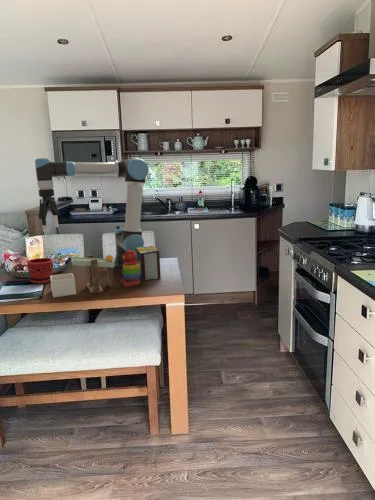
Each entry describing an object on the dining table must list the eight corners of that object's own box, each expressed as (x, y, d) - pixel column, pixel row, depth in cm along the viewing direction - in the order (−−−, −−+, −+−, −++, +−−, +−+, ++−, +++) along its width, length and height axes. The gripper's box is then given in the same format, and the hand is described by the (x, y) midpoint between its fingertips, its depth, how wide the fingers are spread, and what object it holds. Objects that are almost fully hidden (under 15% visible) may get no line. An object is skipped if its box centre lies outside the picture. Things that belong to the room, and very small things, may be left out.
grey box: (73, 288, 193) (72, 273, 191) (76, 294, 183) (74, 278, 181) (51, 291, 189) (50, 275, 187) (52, 297, 179) (51, 281, 178)
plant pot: (47, 285, 199) (44, 263, 196) (24, 284, 201) (21, 262, 199) (59, 278, 211) (57, 257, 209) (37, 277, 214) (35, 257, 211)
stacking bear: (119, 282, 201) (117, 249, 198) (137, 279, 205) (136, 247, 202) (124, 287, 192) (122, 253, 188) (143, 284, 196) (142, 251, 192)
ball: (110, 261, 194) (113, 255, 194) (112, 263, 191) (114, 256, 191) (104, 260, 192) (106, 253, 192) (105, 261, 189) (107, 254, 189)
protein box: (154, 271, 220) (153, 245, 217) (160, 279, 205) (159, 251, 202) (136, 273, 217) (135, 247, 213) (141, 281, 202) (140, 252, 199)
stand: (109, 282, 202) (107, 252, 198) (115, 290, 188) (113, 258, 185) (86, 285, 197) (84, 255, 194) (90, 293, 184) (88, 261, 180)
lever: (107, 261, 206) (107, 255, 205) (114, 269, 189) (114, 262, 189) (67, 259, 198) (67, 252, 197) (71, 267, 181) (71, 260, 180)
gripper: (48, 187, 209) (53, 225, 214) (28, 190, 185) (33, 233, 190) (61, 187, 209) (66, 225, 214) (43, 190, 185) (48, 233, 189)
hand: (50, 229), depth 202 cm, fingers open, 13 cm apart
